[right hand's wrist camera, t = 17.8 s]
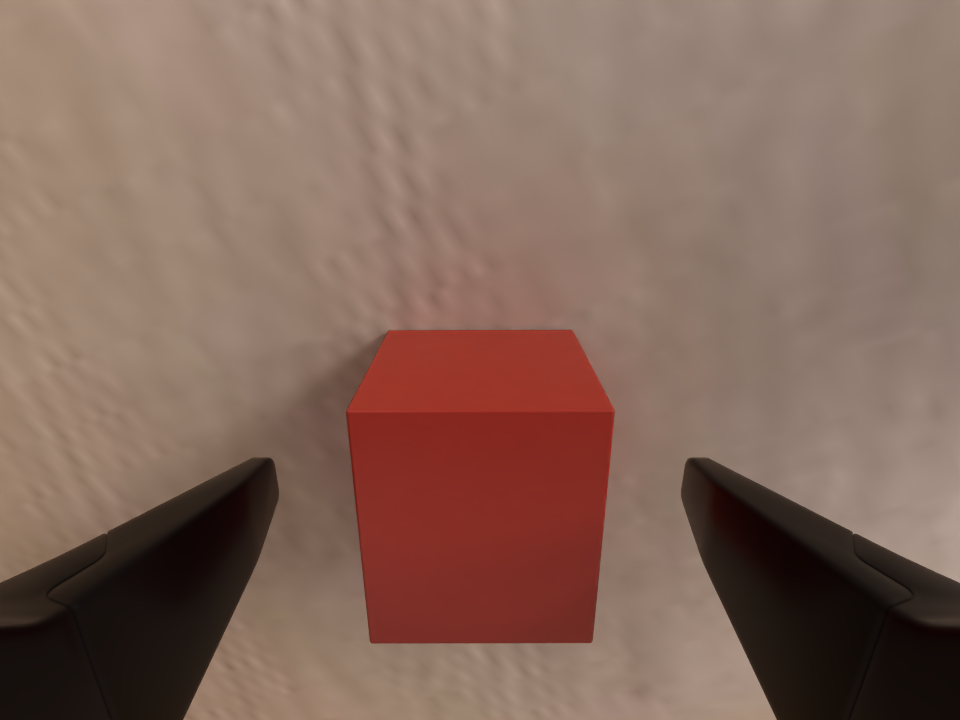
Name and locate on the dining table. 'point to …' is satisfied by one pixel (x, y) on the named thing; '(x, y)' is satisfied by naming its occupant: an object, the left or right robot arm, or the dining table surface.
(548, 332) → the brick
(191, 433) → the dining table surface
